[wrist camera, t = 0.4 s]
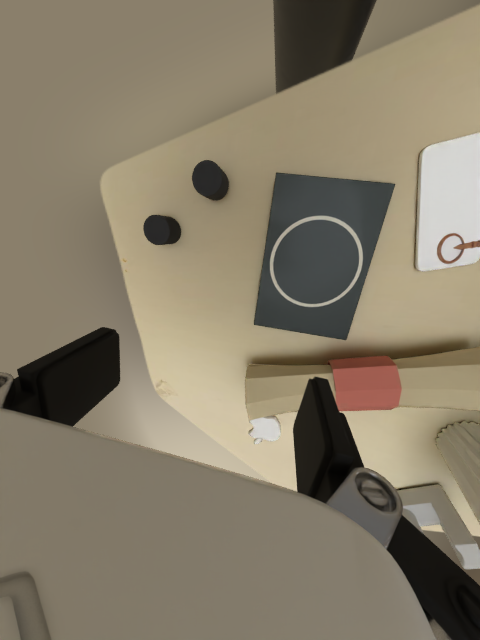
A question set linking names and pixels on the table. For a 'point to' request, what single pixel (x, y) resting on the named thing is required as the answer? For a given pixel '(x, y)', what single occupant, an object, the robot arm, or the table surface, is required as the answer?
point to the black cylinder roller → (210, 180)
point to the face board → (319, 252)
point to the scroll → (370, 383)
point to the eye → (162, 230)
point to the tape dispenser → (440, 520)
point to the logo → (265, 429)
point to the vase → (463, 459)
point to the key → (460, 247)
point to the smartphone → (448, 202)
